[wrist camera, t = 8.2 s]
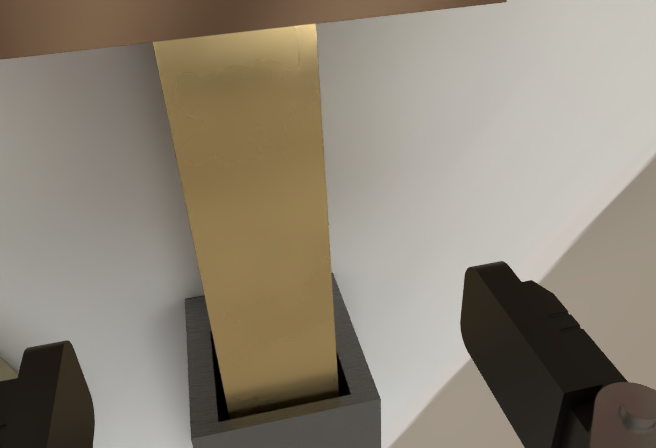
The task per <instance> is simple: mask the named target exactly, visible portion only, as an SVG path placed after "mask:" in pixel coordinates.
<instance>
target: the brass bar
mask: <svg viewBox="0 0 656 448" xmlns="http://www.w3.org/2000/svg"><path fill="white" fill-rule="evenodd" d="M153 46H154V51H155V56H156V61H157V66H158V71H159V76H160V81H161V85H162V90H163V95H164V100H165V105H166V110H167V115H168V120H169V124H170V129H171V134H172V139H173V144H174V149H175V154H176V159H177V163H178V168H179V173H180V178H181V183H182V188H183V193H184V198H185V202H186V207H187V212H188V217H189V222H190V227H191V232H192V237H193V241H194V246H195V251H196V256H197V261H198V266H199V271H200V276H201V280H202V285H203V290H204V295H205V300H206V305H207V310H208V315H209V320H210V324H211V329H212V334H213V339H214V344H215V349H216V354H217V359H218V363H219V368H220V373H221V378H222V383H223V388H224V393H225V398H226V402H227V407H228V412H229V417H230V420H231V419H236V418H241V417H246V416H250V415H255V414H260V413H265V412H270V411H274V410H279V409H284V408H289V407H294V406H298V405H303V404H308V403H313V402H318V401H322V400H327V399H332V398H337V397H339V389H338V373H337V357H336V340H335V324H334V308H333V292H332V276H331V260H330V244H329V228H328V212H327V196H326V180H325V164H324V147H323V131H322V115H321V99H320V83H319V67H318V51H317V35H316V24H308V25H299V26H291V27H282V28H273V29H264V30H255V31H247V32H238V33H229V34H220V35H211V36H203V37H194V38H185V39H176V40H167V41H159V42H153Z"/></svg>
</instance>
